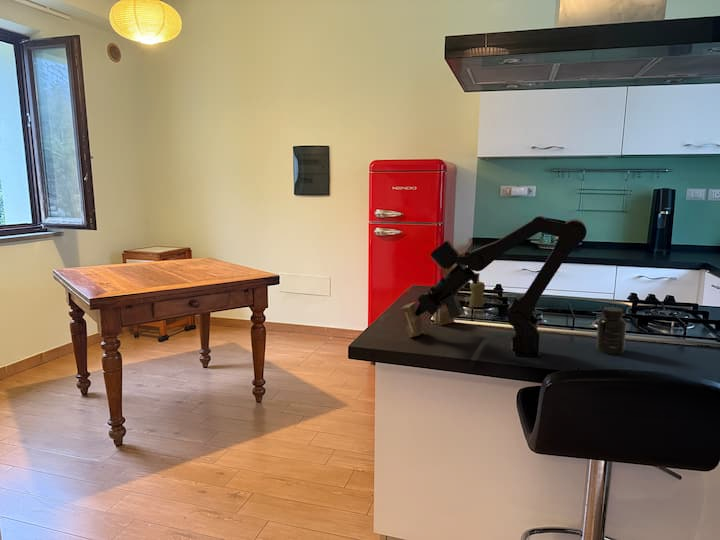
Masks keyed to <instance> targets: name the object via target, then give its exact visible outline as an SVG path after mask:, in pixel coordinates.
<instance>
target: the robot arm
mask: <svg viewBox="0 0 720 540" xmlns="http://www.w3.org/2000/svg"><path fill="white" fill-rule="evenodd" d="M539 233H543V234H547V235H551V236H553V237H557V240H556V242H555V245H554V246H553V247H554V248H553V249H552V251H551V252H550V254H549V256H548V257H547V259H546V260H545V262H544V263H543V265H542V267H541V268H540V270H539V271H538V273H537V274H536V276H535V277H534V279H533V281H532V283H531V284H530V285H529V287H528V288H527V290H526V291H525V292H524V293H523V294H522V295H520V294H519V293H516V295H515V297H514V299H513V301H512V302H511V303H510V304H509V306H508V308H507V309H506V310H507V312H508V314H507V316H506V319H507V321H508V323H509V325H511V326H512V327H513V333H512V334H511V339H510V342H511V343H510V348H511V351H512V352H513V355H514V356H516V357H537V358H540V357H541V354H540V351H539V349H540V332H539V330H538V327H539V325H540V320H539V319H538V318H537V317H536V316H535V315H534V314H533V313H534V311H535V308H536V306H537V303H538V301H539V299H540V298H541V296H542V295H543V293H544V292H545V290H546V289H547V287H548V286H549V284H550V283H551V281H552V279H553V278H554V276H555V275H556V273H557V272H558V271H559V268H560V267H561V265H562V264H563V263H564V261H565V260H566V258H567V257H568V256H569V254H571V253H572V252H573V251H574V250H575V249H576V248H577V247H578V246H579V245H580V244H581V243H582V242H583V241H584V239H585V238H586V236H587V227H586V224H585V223H584V222H583V221H582V220H580V219H577V218H576V219H575V218H571V219H569V220H562V219H557V218H550V217H545V216H543V215H537V216H535V217H534V218H533V219H532V220H531V221H528V222H527V223H525V224H523V225H521V226H520V227H519V228H516V229H515V230H513V231H512V232H510V233H508V234H506V235H505V236H503V237H501V238H499V239H498V240H496V241H494V242H491V243H489V244H485V245H483V246H480V247H477V248H476V249H473V250H472V251H471V252H470V251H469V252H461V253H459V251H458V250H456V248H455V247H454V246H453V245H452V243H451V242H450V241H449V240H446V241H444V242H443V243H442V244H441V245H439V246H438V247H436V248H435V249H434V250H433V251H432V252H431V253H430V254H429V257H430V258H431V259H432V260H433V262H434V263H436V265H438V267H439V268H440V269H441V270H443V271H445V270H446V271H449V272H447V273H446V274H445V275H444V276H443V277H441V279H440V280H439V281H437V283H435V284H434V285H433V286H432V287H430V289H429V290H427V291H424V292H423V293H421V295H420V296H419V297H417V301H418V302H419V303H418V305H417V310H416V312H415V314H416V316H419V315H420V316H421V315H422V314H424V313H426V312H428V313H429V314H430V315H431V316H433V315H435V312H437V311H438V310H439V309H440V307H441V306H442V304H443V305H445V304H446V307H447V309H448V311H449V315H450V317H451V318H454V319H455V318H457V317H461V316H462V315H463V314H464V312H465V308H464V307H465V306H467V302H466V299H465V298H461V297H459V296H458V295H457V294H458V293H460V290H461V289H462V288H463V287H465V286H466V285H468V283H470V281H472V282H473V283H474V284H477V283H478V282H480V275H481V274H480V272H481V271H483V270H484V269H486V268H487V267H488V266H489V265H491V263H493V262H494V261H495V260H496V259H498V257H500V256H501V255H502V254H504V253H506V252H508V251H509V250H511V249H513V248H515V247H516V246H518V245H520V244H521V243H524V242H525V241H526V240H528V239H531V238H533V236H536V235H537V234H539ZM455 264H456V266H454V265H455ZM452 267H453V268H452ZM451 268H452V269H451ZM477 272H478V273H477ZM440 301H441V302H440ZM441 303H442V304H441Z"/></svg>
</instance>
